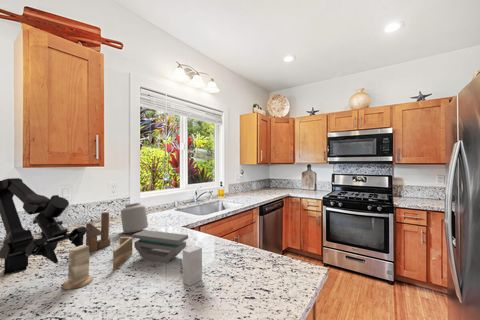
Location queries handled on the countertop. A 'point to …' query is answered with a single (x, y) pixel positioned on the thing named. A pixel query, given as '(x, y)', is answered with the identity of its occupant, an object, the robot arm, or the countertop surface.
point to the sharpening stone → (159, 245)
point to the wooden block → (94, 232)
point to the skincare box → (192, 265)
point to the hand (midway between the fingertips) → (70, 257)
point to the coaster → (81, 284)
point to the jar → (134, 218)
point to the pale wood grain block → (78, 264)
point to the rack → (122, 252)
